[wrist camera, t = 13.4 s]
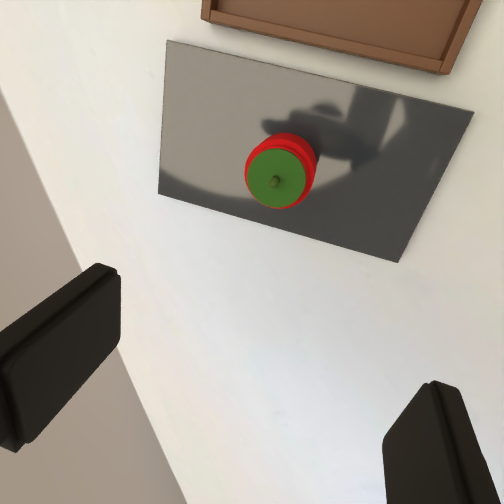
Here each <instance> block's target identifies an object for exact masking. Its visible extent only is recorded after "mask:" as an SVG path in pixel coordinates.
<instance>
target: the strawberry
mask: <svg viewBox="0 0 504 504" xmlns="http://www.w3.org/2000/svg"><path fill="white" fill-rule="evenodd" d="M316 167H317V164H316V157H315V154H314V152H313V149H312V148H311V146H310V145H309V144H308V143H307V142H306V141H305V140H304V139H303V138H301V137H299V136H297V135H295V134H291V133H278V134H274V135H272V136H270V137H268V138H267V139H265V140H264V141H263V142H261V143H260V144H259V145H258V146H257V147H255V148H254V149H253V151H252V152H251V153H250V155H249V156H248V158H247V161H246V164H245V170H244V176H245V182H246V185H247V188H248V190H249V191H250V193H251V194H252V196H253V197H254V198H255V199H256V200H257V201H259V202H260V203H262V204H263V205H265V206H268V207H271V208H276V209H284V208H289V207H292V206H295V205H297V204H298V203H300V202H301V201H302V200H303V199H304V198H305V197H306V196H307V195H308V193H309V192H310V190H311V188H312V185H313V181H314V177H315V173H316Z"/></svg>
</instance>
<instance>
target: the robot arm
mask: <svg viewBox="0 0 504 504" xmlns="http://www.w3.org/2000/svg"><path fill="white" fill-rule="evenodd" d="M120 334H121V277H120V275H118V274H117V270H116V269H115V268H112V267H109V266H106V265H103V264H101V263H95V264H94V265H92V266H91V267H89V268H88V269H87V270H85V271H84V272H82V273H81V274H80V275H78V276H77V277H76V278H74V279H73V280H71V281H70V282H69V283H67V284H66V285H64V286H63V287H62V288H60V289H59V290H57V291H56V292H55V293H53V294H52V295H51V296H49V297H48V298H46V299H45V300H44V301H42V302H41V303H39V304H38V305H37V306H35V307H34V308H33V309H31V310H30V311H28V312H27V313H26V314H24V315H23V316H22V317H20V318H19V319H17V320H16V321H15V322H13V323H12V324H10V325H9V326H8V327H6V328H5V329H4V330H2V331H1V332H0V446H1V447H3V448H5V449H8V450H10V451H12V452H14V453H16V452H18V451H19V449H20V448H21V447H22V446H23V445H24V444H25V443H31V442H32V441H33V440H35V438H36V437H38V435H39V434H40V433H41V432H42V431H43V429H44V428H45V427H46V426H47V425H48V424H49V423H50V421H51V420H52V419H53V418H54V417H55V416H56V415H57V414H58V412H59V411H60V410H61V409H62V408H63V407H64V406H65V404H66V403H67V402H68V401H69V400H70V399H71V398H72V396H73V395H74V394H75V393H76V392H77V391H78V390H79V388H80V387H81V386H82V385H83V384H84V383H85V382H86V380H87V379H88V378H89V377H90V376H91V375H92V374H93V372H94V371H95V370H96V369H97V368H98V367H99V365H100V364H101V363H102V362H103V361H104V360H105V359H106V358H107V356H108V355H109V354H110V353H111V352H112V351H113V349H114V348H115V347H116V346H117V344H118V342H119V340H120ZM382 453H383V464H384V475H385V487H386V498H387V504H501V503H500V500H499V497H498V494H497V491H496V488H495V486H494V483H493V480H492V477H491V474H490V472H489V469H488V466H487V463H486V461H485V459H484V456H483V454H482V453H481V450H480V447H479V444H478V441H477V438H476V435H475V433H474V430H473V427H472V424H471V421H470V418H469V416H468V413H467V410H466V407H465V404H464V401H463V399H462V396H461V393H460V391H459V390H458V389H457V388H456V387H453V386H450V385H447V384H444V383H441V382H438V381H435V380H434V381H432V382H431V383H430V384H428V383H424V384H423V385H422V386H421V388H420V389H419V390H418V392H417V393H416V394H415V396H414V397H413V399H412V400H411V401H410V403H409V404H408V405H407V407H406V408H405V409H404V411H403V412H402V413H401V415H400V416H399V417H398V419H397V420H396V421H395V423H394V424H393V425H392V427H391V428H390V430H389V431H388V432H387V434H386V435H385V437H384V439H383V444H382Z"/></svg>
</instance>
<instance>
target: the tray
mask: <svg viewBox="0 0 504 504" xmlns="http://www.w3.org/2000/svg"><path fill="white" fill-rule="evenodd" d="M481 2H482V0H202V9H201V19H202V20H204V21H207V22H209V23H213V24H217V25H222V26H226V27H231V28H235V29H239V30H244V31H248V32H253V33H257V34H262V35H266V36H270V37H275V38H279V39H284V40H288V41H293V42H297V43H301V44H306V45H310V46H315V47H319V48H324V49H328V50H333V51H337V52H341V53H346V54H350V55H355V56H359V57H364V58H368V59H372V60H377V61H381V62H386V63H390V64H395V65H399V66H403V67H408V68H412V69H417V70H421V71H426V72H430V73H434V74H439V75H449V74H450V72H451V69H452V67H453V65H454V63H455V60H456V58H457V56H458V54H459V52H460V49H461V47H462V45H463V43H464V40H465V38H466V36H467V34H468V31H469V29H470V27H471V25H472V22H473V20H474V18H475V16H476V14H477V11H478V9H479V7H480V5H481Z"/></svg>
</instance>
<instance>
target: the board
mask: <svg viewBox="0 0 504 504" xmlns="http://www.w3.org/2000/svg"><path fill="white" fill-rule="evenodd" d="M473 115H474V112H473V111H469V110H465V109H461V108H456V107H452V106H448V105H444V104H439V103H435V102H431V101H427V100H422V99H418V98H414V97H410V96H405V95H401V94H397V93H392V92H388V91H384V90H380V89H375V88H371V87H367V86H363V85H358V84H354V83H350V82H346V81H341V80H337V79H333V78H329V77H324V76H320V75H316V74H312V73H307V72H303V71H299V70H294V69H290V68H286V67H282V66H277V65H273V64H269V63H265V62H260V61H256V60H252V59H248V58H243V57H239V56H235V55H231V54H226V53H222V52H218V51H214V50H209V49H205V48H201V47H197V46H192V45H188V44H184V43H179V42H175V41H171V40H167V43H166V61H165V79H164V96H163V114H162V131H161V149H160V167H159V184H158V194H161V195H164V196H167V197H171V198H174V199H178V200H181V201H185V202H188V203H192V204H195V205H199V206H202V207H205V208H209V209H212V210H216V211H219V212H223V213H226V214H230V215H233V216H237V217H240V218H244V219H247V220H250V221H254V222H257V223H261V224H264V225H268V226H271V227H275V228H278V229H282V230H285V231H288V232H292V233H295V234H299V235H302V236H306V237H309V238H313V239H316V240H320V241H323V242H327V243H330V244H333V245H337V246H340V247H344V248H347V249H351V250H354V251H358V252H361V253H365V254H368V255H371V256H375V257H378V258H382V259H385V260H389V261H392V262H396V263H398V262H399V260H400V258H401V256H402V254H403V252H404V250H405V248H406V246H407V244H408V242H409V240H410V238H411V236H412V234H413V232H414V230H415V228H416V226H417V225H418V223H419V221H420V219H421V217H422V215H423V213H424V211H425V209H426V207H427V205H428V203H429V201H430V199H431V197H432V195H433V193H434V191H435V189H436V187H437V185H438V183H439V181H440V179H441V177H442V175H443V173H444V172H445V170H446V168H447V166H448V164H449V162H450V160H451V158H452V156H453V154H454V152H455V150H456V148H457V146H458V144H459V142H460V140H461V138H462V136H463V134H464V132H465V130H466V128H467V126H468V124H469V122H470V120H471V118H472V117H473ZM278 133H291V134H295V135H297V136H299V137H301V138H303V139H304V140H305V141H306V142H307V143H308V144H309V145H310V146H311V148H312V149H313V152H314V154H315V157H316V164H317V167H316V173H315V177H314V181H313V185H312V188H311V190H310V192H309V193H308V195H307V196H306V197H305V198H304V199H303V200H302V201H301V202H300V203H298V204H297V205H295V206H292V207H289V208H284V209H276V208H271V207H268V206H265V205H263V204H262V203H260V202H259V201H257V200H256V199H255V198H254V197H253V196H252V194H251V193H250V191H249V190H248V188H247V185H246V182H245V176H244V170H245V164H246V161H247V158H248V156H249V155H250V153H251V152H252V151H253V149H254V148H255V147H257V146H258V145H259V144H260V143H261V142H263V141H264V140H265V139H267V138H268V137H270V136H272V135H274V134H278Z"/></svg>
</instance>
